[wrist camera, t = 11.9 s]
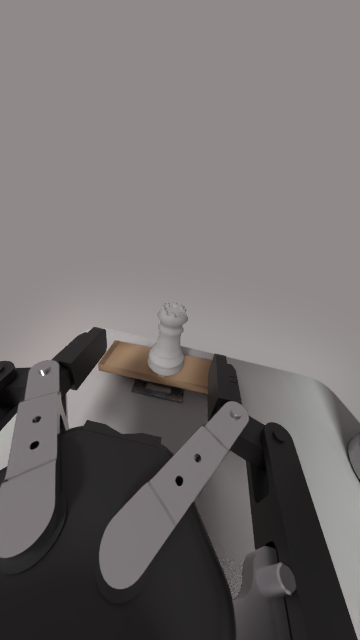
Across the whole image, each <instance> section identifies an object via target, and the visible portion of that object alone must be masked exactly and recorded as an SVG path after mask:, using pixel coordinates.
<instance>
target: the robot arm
mask: <svg viewBox="0 0 360 640" xmlns="http://www.w3.org/2000/svg"><path fill="white" fill-rule="evenodd" d="M106 349H107V339H106V330H105V329H101V328H97V327H93V328H92V329H91V330H90V331H89V332H88V333H86V332H85V333H83V334H80V335H78V336H77V337H76V338H75V339H74V340H73V341H72V342H70V343H69V345H68V346H66V347H65V348H64V349H63V350H62V351H61V352H59V353H58V354H57V355H56V356H55V357H54V358H53V359H52V360H46V361H42V362H39V363H37V364H35V365H34V366H33V367H32V368H15V366H14V364H13V363H12V362H10V361H0V431H1V430H2V428H3V427H4V426H5V425H6V424H7V423H8V422H9V421H10V420H11V419H12V417H13V416H14V415H15V414H16V413H17V416H16V422H15V427H14V433H13V438H12V444H11V449H10V455H9V460H8V466H7V467H5V468H3V469H2V470H0V640H358V639H357V636H356V633H355V630H354V627H353V624H352V621H351V618H350V615H349V612H348V609H347V606H346V602H345V599H344V596H343V593H342V590H341V587H340V584H339V581H338V578H337V575H336V572H335V569H334V566H333V563H332V559H331V556H330V553H329V550H328V547H327V544H326V541H325V538H324V535H323V532H322V529H321V526H320V523H319V520H318V516H317V513H316V510H315V507H314V504H313V501H312V498H311V495H310V492H309V489H308V486H307V483H306V480H305V477H304V473H303V470H302V467H301V464H300V461H299V458H298V455H297V452H296V449H295V446H294V443H293V440H292V437H291V436H290V434H289V433H288V432H287V430H286V429H285V428H283V427H282V426H281V425H279V424H277V423H273V422H270V423H267V424H266V425H264V424H262V423H260V422H258V421H256V420H255V419H253V418H251V417H250V416H249V415H248V413H247V411H246V409H245V408H244V407H243V406H242V403H241V397H240V391H239V386H238V380H237V375H236V371H235V369H234V367H233V366H232V365H230V364H227V361H226V356H224V355H219V354H215V355H214V357H213V360H212V363H211V366H210V368H209V373H208V423H207V424H206V425H205V426H204V425H203V426H201V427H200V428H199V429H198V430H197V431H196V432H195V434H194V435H193V436H192V437H191V438H190V439H189V440H188V441H187V442H186V443H185V444H184V445H183V446H182V447H181V448H180V450H179V451H178V452H177V453H176V454H175V455H173V454H172V453H171V452H170V451H169V450H168V449H167V448H166V447H165V446H163V445H162V444H160V442H161V437H156V436H152V435H148V434H144V433H139V434H121V433H119V432H117V431H116V430H114V429H112V428H110V427H109V426H107V425H105V424H102V423H97V422H93V421H89V420H87V421H86V423H85V424H84V426H80V427H75V428H71V429H69V425H68V410H67V394H66V393H67V392H68V390H69V389H72V390H77V389H78V388H79V387H80V385H81V384H82V383H83V381H84V380H85V379H86V377H87V376H88V375H89V373H90V372H91V371H92V369H93V368H94V367H95V366H96V364H97V363H98V362H99V360H100V359H101V358H102V356H103V355H104V354H105V352H106ZM229 451H232V452H234V453H235V454H237V455H238V456H240V457H242V458H243V459H245V460H246V466H247V476H248V485H249V495H250V504H251V514H252V524H253V533H254V543H255V551H253V552H251V553H249V554H248V555H247V556H246V558H245V560H244V564H243V573H242V585H241V589H240V591H239V594H238V595H237V597H236V598H235V599H234V600H232V596H231V592H230V589H229V585H228V582H227V580H226V577H225V574H224V572H223V570H222V567H221V565H220V562H219V560H218V558H217V555H216V553H215V550H214V548H213V546H212V543H211V541H210V538H209V536H208V534H207V531H206V529H205V526H204V524H203V522H202V519H201V517H200V514H199V512H198V509H197V507H196V505H195V500H196V499H197V497H198V496H199V495H200V493H201V492H202V490H203V489H204V487H205V486H206V484H207V483H208V481H209V480H210V478H211V477H212V475H213V474H214V472H215V471H216V469H217V468H218V467H219V465H220V464H221V462H222V461H223V459H224V458H225V456H226V455H227V453H228V452H229ZM348 453H349V457H350V461H351V464H352V466H353V468H354V470H355V473H356V474H357V476H358V478H359V479H360V433H359V434H358V435H357V436H355V437H354V438H353V439H352V440H351V441H350V443H349V445H348Z"/></svg>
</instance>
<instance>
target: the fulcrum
mask: <svg viewBox="0 0 360 640" xmlns="http://www.w3.org/2000/svg"><path fill="white" fill-rule="evenodd" d="M183 391H184V389H182V388H178V387H173V386H168V385H164V384H159V383H155V382H150V381H145V380H141V379H136V381H135V384H134V386H133V388H132V392H135V393H140V394H144V395H149V396H153V397H158V398H162V399H167V400H171V401H176V402H180V403H182V398H183Z"/></svg>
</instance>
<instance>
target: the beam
mask: <svg viewBox="0 0 360 640" xmlns="http://www.w3.org/2000/svg"><path fill="white" fill-rule="evenodd" d="M150 350H151V348H149V347H144V346H139V345H135V344H130V343H125V342H120V341H114V343H113V344H112V345H111V347H110V348H109V349H108V351H107V352H106V353H105V355H104V356H103V357H102V359H101V360H100V362H99V363H98V366H99V371H103V372H108V373H113V374H117V375H122V376H127V377H131V378H136V379H141V380H145V381H150V382H155V383H159V384H164V385H168V386H173V387H178V388H182V389H187V390H192V391H196V392H201V393H206V394H208V373H209V368H210V366H211V363H212V361H211V360H206V359H202V358H197V357H192V356H187V355H184V360H183V367H182V368H181V370H180V371H179V372H177V373H175V374H174V375H170V376H163V375H159V374H157V373H155V372H154V371H152V369H151V368H150V367H149V366H148V361H147V360H148V357H149V356H148V355H149V352H150Z"/></svg>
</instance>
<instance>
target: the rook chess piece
mask: <svg viewBox="0 0 360 640" xmlns="http://www.w3.org/2000/svg"><path fill="white" fill-rule="evenodd" d="M185 313H186V309H184V306H182V305H180V308H178V307H177V303H173V306H170V303H165V306H164V305H163V306H162V309H161V310H160V311H159V312H158V314H157V316H158V318H159V320H160V321H161V323H160V324H159V326H158V329H159V336H158V340H157V342H156V343H155V344H154V346H153V347H152V348H151V350H150V352H149V355H148V356H149V357H148V360H147V361H148V366H149V367H150V368H151V369H152V371H154V372H155V373H157V374H159V375H163V376H170V375H174V374H175V373H177V372H179V371H180V370H181V368H182V367H183V360H184V354H183V352H182V349H181V347H180V336H181V333H182V332H183V327H182V325H183V324H184V323H186V322H187V321H188V317H187V315H186V314H185Z"/></svg>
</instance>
